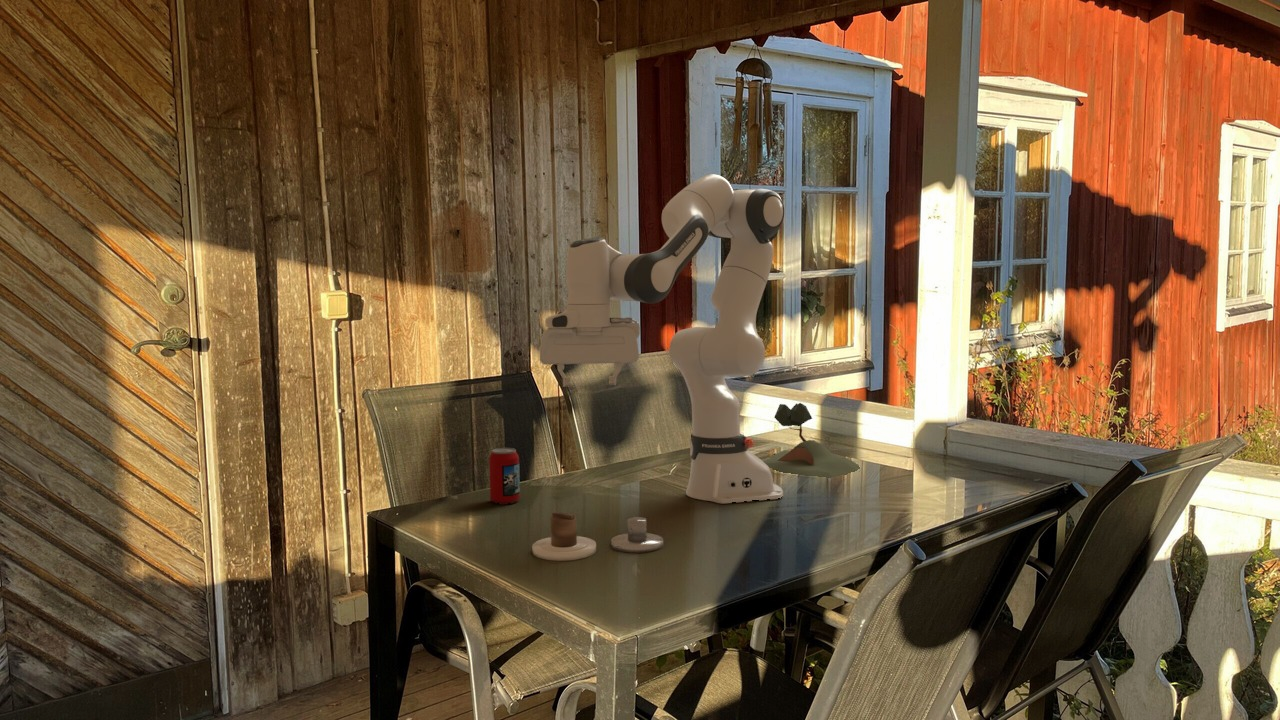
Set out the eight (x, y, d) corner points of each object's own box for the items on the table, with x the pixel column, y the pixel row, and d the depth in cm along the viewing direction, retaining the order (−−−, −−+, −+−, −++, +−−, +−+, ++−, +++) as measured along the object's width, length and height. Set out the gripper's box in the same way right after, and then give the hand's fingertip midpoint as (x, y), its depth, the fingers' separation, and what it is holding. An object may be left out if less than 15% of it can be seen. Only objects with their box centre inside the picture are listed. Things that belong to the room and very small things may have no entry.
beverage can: (514, 505, 214) (513, 453, 213) (486, 504, 216) (484, 452, 215) (524, 498, 221) (522, 447, 220) (496, 497, 222) (494, 446, 221)
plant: (787, 450, 277) (788, 389, 276) (892, 468, 252) (893, 401, 250) (720, 465, 258) (720, 399, 256) (826, 485, 232) (827, 413, 230)
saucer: (594, 540, 186) (594, 533, 186) (597, 559, 175) (597, 551, 174) (533, 542, 185) (532, 535, 185) (531, 561, 173) (531, 554, 173)
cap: (581, 542, 181) (581, 512, 180) (567, 548, 176) (566, 518, 176) (560, 538, 183) (560, 509, 182) (546, 545, 179) (545, 515, 178)
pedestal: (660, 536, 189) (659, 511, 188) (666, 551, 179) (665, 525, 178) (609, 538, 188) (609, 513, 187) (613, 553, 178) (612, 527, 177)
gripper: (638, 316, 198) (638, 382, 199) (539, 318, 196) (540, 384, 198) (640, 318, 192) (641, 386, 193) (538, 319, 190) (540, 388, 191)
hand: (589, 385), depth 195 cm, fingers open, 8 cm apart
